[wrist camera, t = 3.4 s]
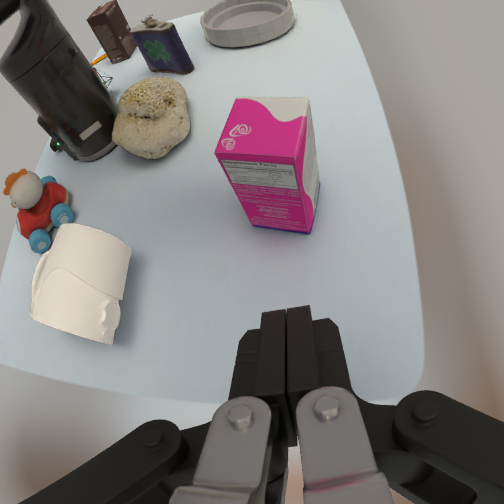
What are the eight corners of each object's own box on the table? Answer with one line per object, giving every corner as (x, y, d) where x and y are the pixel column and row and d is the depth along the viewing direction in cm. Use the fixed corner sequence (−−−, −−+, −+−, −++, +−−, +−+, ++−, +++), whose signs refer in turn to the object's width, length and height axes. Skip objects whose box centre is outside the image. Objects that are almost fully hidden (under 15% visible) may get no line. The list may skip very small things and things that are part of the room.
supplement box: (263, 177, 33) (235, 93, 22) (321, 183, 31) (314, 96, 21) (248, 227, 31) (211, 151, 21) (310, 236, 29) (301, 158, 19)
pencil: (140, 33, 53) (140, 34, 53) (85, 66, 53) (85, 66, 53) (142, 36, 53) (142, 37, 54) (86, 69, 53) (87, 69, 54)
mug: (152, 259, 32) (108, 224, 25) (130, 349, 29) (76, 336, 22) (72, 249, 35) (28, 220, 28) (51, 324, 32) (1, 306, 25)
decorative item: (108, 99, 39) (154, 51, 34) (153, 129, 45) (201, 89, 40) (87, 154, 33) (139, 97, 28) (144, 187, 39) (200, 142, 34)
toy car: (25, 220, 40) (-21, 188, 31) (63, 178, 41) (20, 139, 32) (39, 260, 36) (-16, 229, 27) (82, 213, 37) (31, 171, 28)
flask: (147, 71, 46) (121, 24, 36) (158, 61, 47) (134, 14, 37) (188, 76, 43) (162, 20, 33) (199, 64, 44) (176, 10, 34)
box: (131, 58, 50) (103, 11, 39) (112, 64, 51) (84, 20, 40) (140, 42, 52) (116, -2, 41) (122, 48, 53) (97, 6, 42)
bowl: (207, 58, 44) (199, 39, 40) (207, 21, 50) (201, 4, 46) (303, 38, 42) (299, 18, 38) (285, 4, 48) (282, -13, 44)
